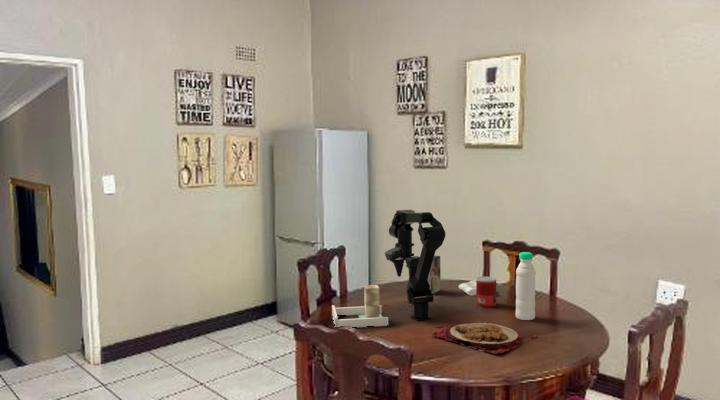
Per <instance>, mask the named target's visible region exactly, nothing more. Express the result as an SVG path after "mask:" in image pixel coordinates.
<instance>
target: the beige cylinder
mask: <svg viewBox="0 0 720 400" xmlns="http://www.w3.org/2000/svg"><path fill="white" fill-rule="evenodd" d="M363 287H364V288H363V291H364V292H363V296H364V301H363V302H364V306H365V318H376V317H380V309H379V306H380V286H379V285H378V284H368V285H367V284H365V285H364V286H363Z"/></svg>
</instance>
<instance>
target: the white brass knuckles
mask: <svg viewBox="0 0 720 400" xmlns="http://www.w3.org/2000/svg"><path fill="white" fill-rule="evenodd" d="M458 289H459V290H461V291H463V292H464V293H466V294H467V295H468V296H470V297H473V296H476V279H475V280H470V281H469V282H463V283H460V284H459V285H458Z"/></svg>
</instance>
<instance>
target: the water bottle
mask: <svg viewBox="0 0 720 400" xmlns="http://www.w3.org/2000/svg"><path fill="white" fill-rule="evenodd" d="M518 256H519V257H518V258H519V260H520V263H519V264H518V266H517V268H516V269H515V270H516V271H515V274H516V277H515V278H516V279H515V317H516V319H518V320H521V321H532V320H534V319H535V318H536V309H535V308H536V269H535V268H534V264H533V263H532V261H533V256H534V255H533V253H532V252H529V251H522V252H519V255H518Z"/></svg>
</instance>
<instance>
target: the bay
mask: <svg viewBox="0 0 720 400" xmlns="http://www.w3.org/2000/svg"><path fill="white" fill-rule="evenodd" d="M382 306H383V305H380V304H379V309H380V317H376V318H365V305H364V306H363V305H362V306H347V307H343V306H342V307H336V306H335V305H331V317H332V316H333V317H332V321H333V320H334V321H333V325H334V324H335V326H334V328H335V327H340V326H351V327H357V328H368V327H367V326H374V327H388V326H389V316H383V315H382V313H383V312H382ZM337 315H346V316H357V317H358V316H359V317H358V318H344V319H341V318H340V319H338V318H339V316H337ZM387 325H388V326H387Z"/></svg>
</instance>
